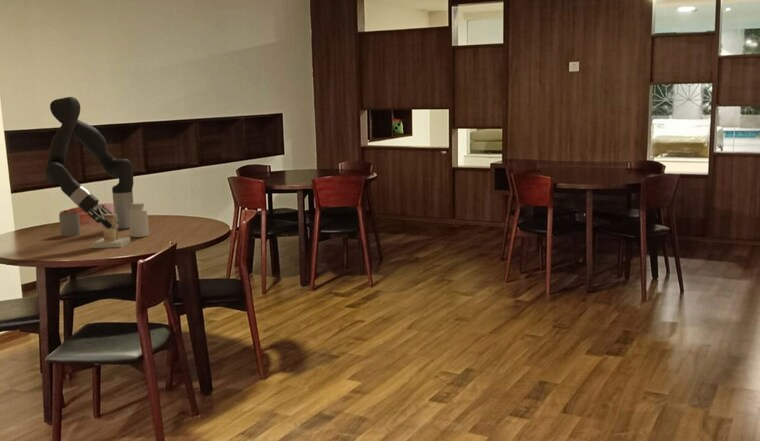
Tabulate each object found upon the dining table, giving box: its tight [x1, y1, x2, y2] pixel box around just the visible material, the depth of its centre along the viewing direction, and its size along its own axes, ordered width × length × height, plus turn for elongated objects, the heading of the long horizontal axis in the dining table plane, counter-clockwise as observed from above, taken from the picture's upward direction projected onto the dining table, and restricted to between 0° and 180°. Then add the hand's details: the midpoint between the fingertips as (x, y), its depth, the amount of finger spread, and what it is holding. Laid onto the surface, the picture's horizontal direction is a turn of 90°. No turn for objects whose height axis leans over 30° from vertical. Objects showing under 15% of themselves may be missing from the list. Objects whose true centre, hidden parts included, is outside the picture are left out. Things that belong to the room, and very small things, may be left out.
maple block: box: [102, 213, 119, 241], centre depth 322 cm, size 4×4×11 cm
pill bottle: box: [129, 202, 150, 238], centre depth 341 cm, size 8×8×15 cm
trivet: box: [91, 236, 132, 249], centre depth 323 cm, size 12×12×2 cm
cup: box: [58, 211, 81, 237], centre depth 350 cm, size 8×8×10 cm
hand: (113, 225), depth 322 cm, fingers open, 7 cm apart
